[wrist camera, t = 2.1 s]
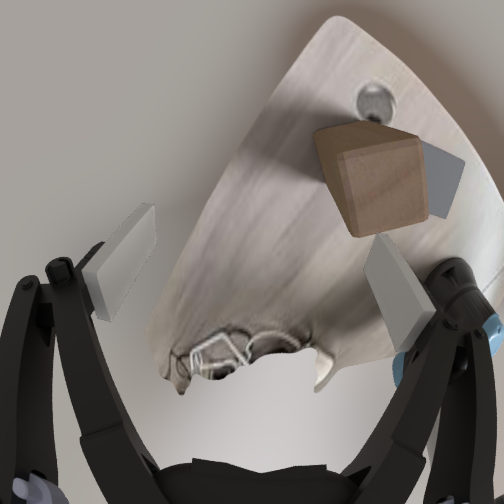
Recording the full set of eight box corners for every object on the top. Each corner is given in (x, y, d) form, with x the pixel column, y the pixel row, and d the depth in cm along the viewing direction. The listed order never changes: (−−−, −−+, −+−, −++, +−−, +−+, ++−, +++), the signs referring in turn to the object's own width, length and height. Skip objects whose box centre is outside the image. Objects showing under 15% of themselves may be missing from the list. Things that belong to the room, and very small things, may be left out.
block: (379, 174, 42) (432, 222, 25) (326, 186, 45) (352, 243, 28) (367, 118, 37) (423, 134, 20) (310, 131, 40) (332, 152, 23)
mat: (464, 161, 38) (465, 162, 38) (444, 218, 45) (445, 219, 45) (384, 126, 38) (384, 126, 38) (365, 194, 45) (366, 195, 44)
